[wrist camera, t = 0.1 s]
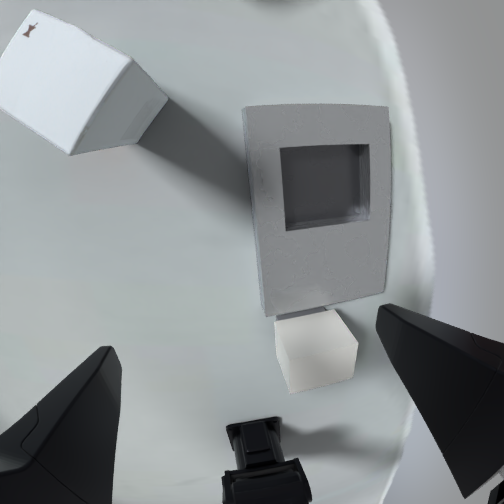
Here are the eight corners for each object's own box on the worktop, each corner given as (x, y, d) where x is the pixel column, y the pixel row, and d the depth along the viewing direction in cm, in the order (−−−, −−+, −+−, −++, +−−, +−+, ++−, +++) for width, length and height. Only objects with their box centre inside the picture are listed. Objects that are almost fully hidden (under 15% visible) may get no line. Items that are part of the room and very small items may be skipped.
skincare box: (77, 108, 17) (-23, 95, 6) (110, 61, 16) (32, 3, 5) (138, 147, 19) (68, 160, 8) (172, 98, 19) (137, 54, 8)
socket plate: (373, 282, 27) (383, 291, 25) (261, 304, 26) (265, 317, 24) (375, 108, 21) (388, 106, 19) (241, 109, 20) (245, 106, 18)
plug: (326, 334, 28) (352, 377, 22) (272, 345, 28) (290, 394, 22) (328, 300, 27) (358, 342, 21) (270, 311, 26) (289, 360, 20)
